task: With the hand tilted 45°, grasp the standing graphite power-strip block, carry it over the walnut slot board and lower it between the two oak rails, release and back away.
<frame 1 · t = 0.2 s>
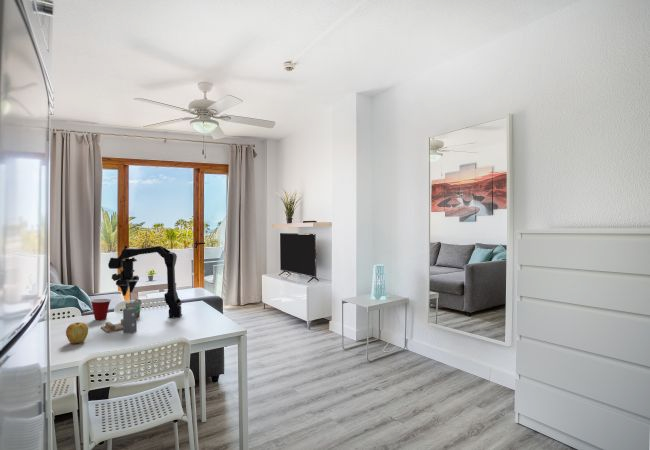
hand: (127, 294, 228), 15 cm above the table, tool pointing down, fingers open, 9 cm apart
food container: (135, 317, 229), on the table
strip: (130, 331, 200), on the table
apple: (77, 342, 183), on the table
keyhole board: (118, 327, 207), on the table
plastic cup: (101, 319, 225), on the table
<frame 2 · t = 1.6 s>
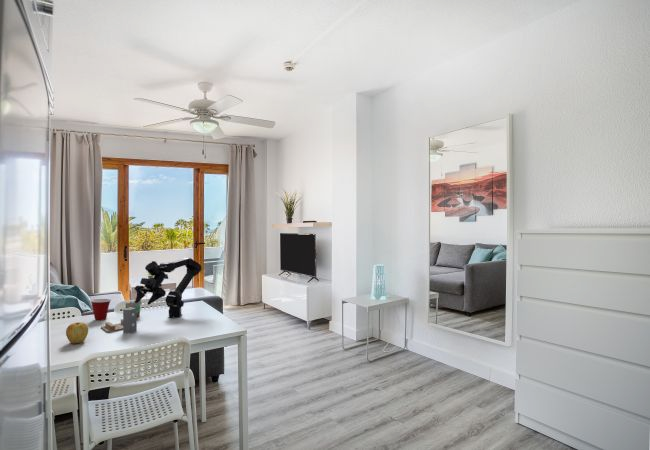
hand: (141, 303, 207), 13 cm above the table, tool tilted 45°, fingers open, 9 cm apart
nothing on the table moved.
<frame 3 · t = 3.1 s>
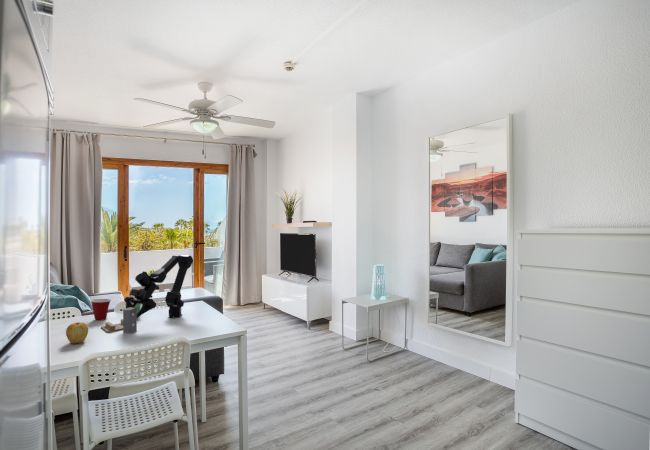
hand: (131, 315, 200), 9 cm above the table, tool tilted 45°, fingers open, 9 cm apart
nothing on the table moved.
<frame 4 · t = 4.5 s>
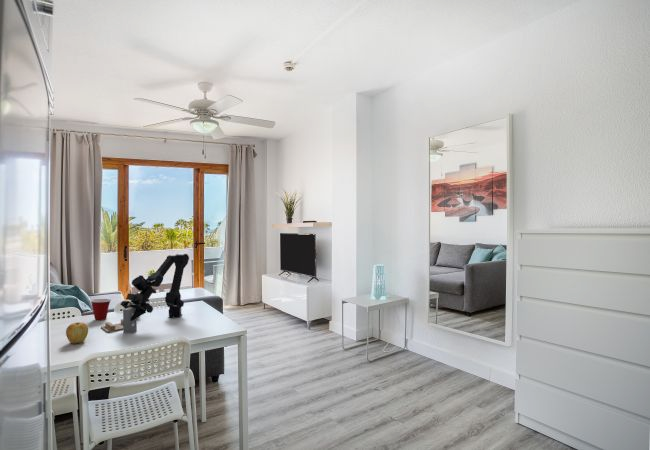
hand: (127, 320, 198), 7 cm above the table, tool tilted 45°, fingers closed on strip, 4 cm apart
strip: (130, 331, 200), on the table, touching gripper
everything else where it was.
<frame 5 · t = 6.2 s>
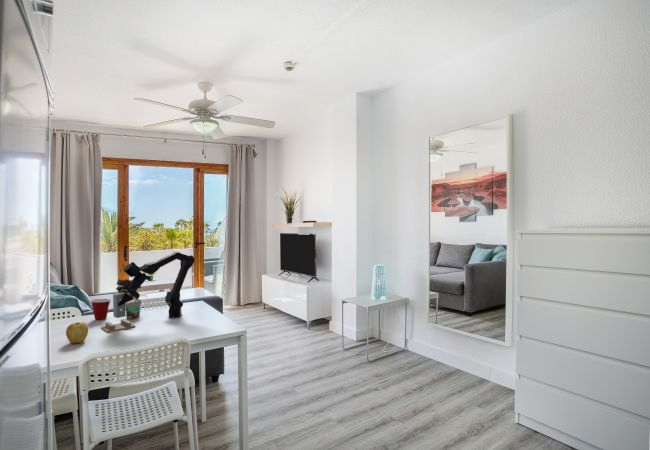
hand: (116, 304, 204), 13 cm above the table, tool tilted 45°, fingers closed on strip, 4 cm apart
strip: (119, 316, 205), point 7 cm above the table, touching gripper
everything else where it was.
when the fingers open (8 cm above the table, at t = 8.1 s): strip stays where it is, resting on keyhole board.
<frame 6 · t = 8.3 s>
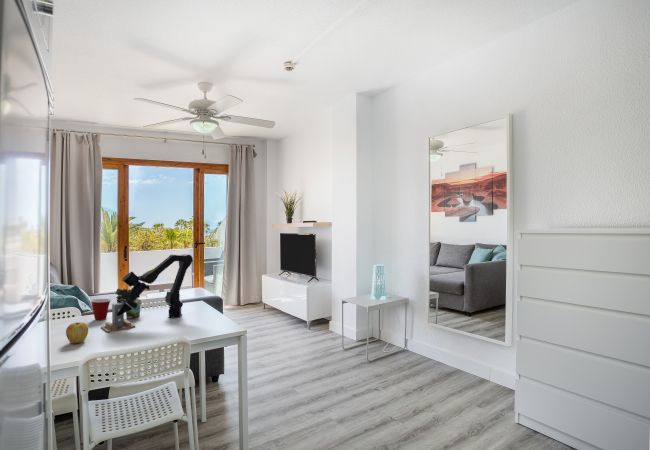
hand: (115, 314, 206), 8 cm above the table, tool tilted 45°, fingers open, 7 cm apart
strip: (118, 326, 207), point 1 cm above the table, touching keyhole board
everything else where it was.
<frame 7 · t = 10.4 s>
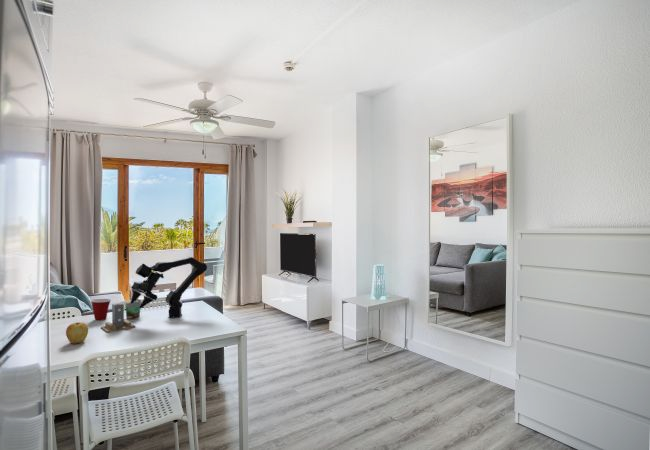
hand: (135, 305, 216), 10 cm above the table, tool tilted 35°, fingers open, 9 cm apart
nothing on the table moved.
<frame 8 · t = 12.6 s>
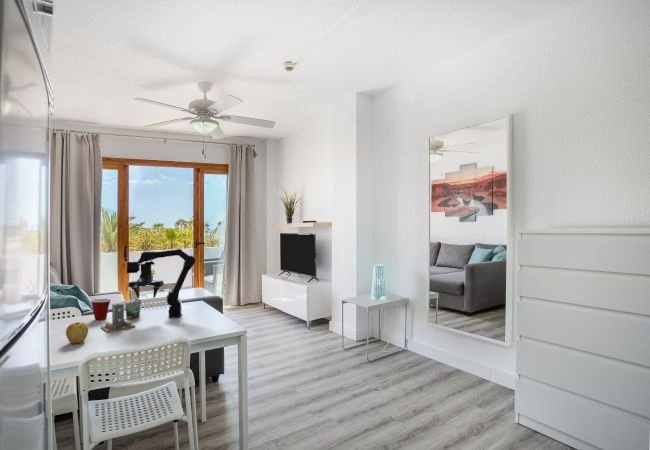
hand: (146, 298, 223), 13 cm above the table, tool pointing down, fingers open, 9 cm apart
nothing on the table moved.
at the end: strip 0.0 cm from the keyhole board (horizontally); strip tilted 0°; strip point 0.8 cm above the table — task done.
